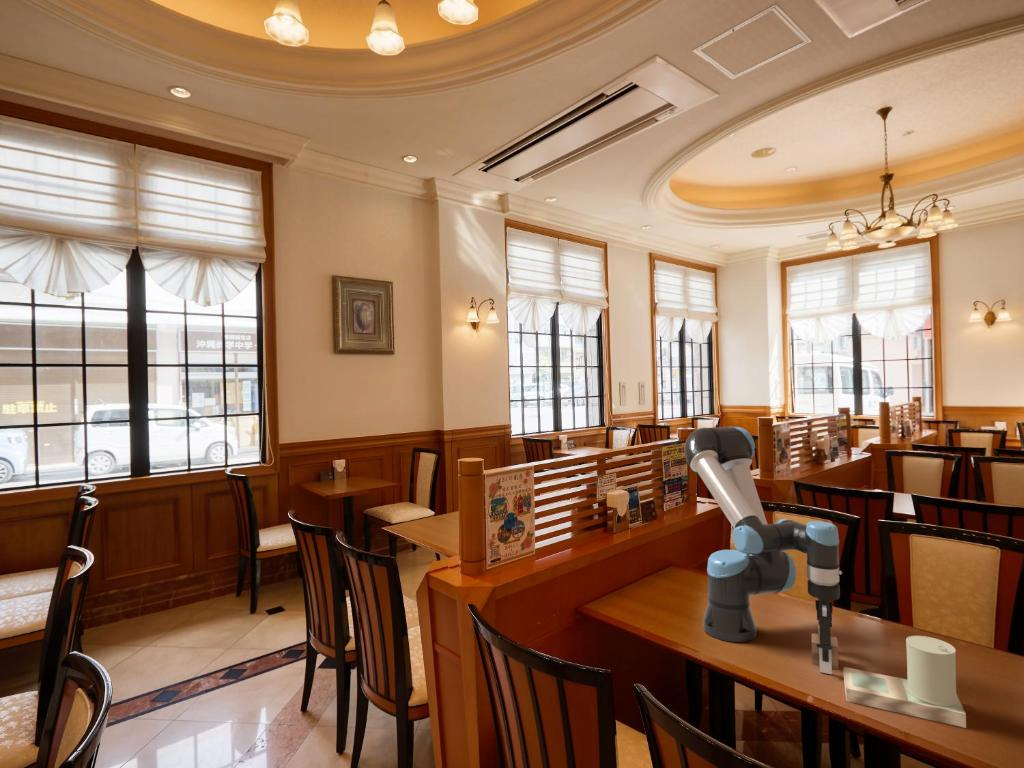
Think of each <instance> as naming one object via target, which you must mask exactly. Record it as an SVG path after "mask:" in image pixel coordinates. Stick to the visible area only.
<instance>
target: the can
mask: <svg viewBox="0 0 1024 768" xmlns="http://www.w3.org/2000/svg"><path fill="white" fill-rule="evenodd" d="M905 643H906V644H905V647H906V669H907V670H906V671H907V672H906V674H907V675H906V677H907V691H908V692H909V693H910V694H911V695H912V696H914V697H915V698H917V699H919V700H921V701H924V702H926V703H929V704H933V705H937V706H954V705H956V704H957V702H958V700H957V696H958V695H956V694H957V671H956V669H957V667H956V666H957V664H956V663H957V661H956V660H957V659H956V658H957V656H956V654H957V649H956V648H955V647H954V645H952V644H950V643H948V642H946V641H944V640H941V639H939V638H935V637H932V636H931V637H930V636H925V635H910V636H907V637H906V639H905Z"/></svg>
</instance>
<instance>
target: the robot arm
mask: <svg viewBox="0 0 1024 768" xmlns="http://www.w3.org/2000/svg"><path fill="white" fill-rule="evenodd" d="M755 449H756V443H755V441H754V438H753V436H752V434H751V433H750V431H748V430H747V429H745V428H743V427H741V426H732V425H731V426H721V427H720V426H718V427H700V428H697V429H695V430H694V431H692V432H691V433H690V434H689V435H688V437H687V438H686V440H685V443H684V457H685V460H686V462H687V465H689V467H690V469H691V470H692V471H693V472H695V473H697V475H698V476H699V477H700V478H701V480H702V481H703V483H704V485H705V486H706V487H707V489H708V491H709V492H710V494H711V495H712V497H713V498H714V500H715V502H716V503H717V504H718V506H719V508H720V509H721V511H722V512H723V514H724V515H725V517H726V518H727V520H728V521H729V523H730V524H731V526H732V528H733V531H732V536H731V537H732V541H733V545H734V548H735V549H721V550H717V551H715V552H713V553H711V554H710V556H709V557H708V558H707V568H706V572H707V589H708V590H707V591H708V592H707V595H708V597H707V598H708V601H707V605H706V609H705V612H704V615H703V619H702V629H703V631H704V632H705V633H706V632H707V633H708V636H710V637H713V638H715V639H718V640H722V641H726V642H732V643H744V642H749V641H753V640H754V639H755V638H757V625H756V622H755V620H754V616H753V613H752V611H751V608H750V596H755V595H767V594H777V593H781V592H785V591H788V590H790V589H792V587H793V586H794V584H795V581H796V580H797V568H796V562H795V561H794V559H793V558H792V556H791V555H790V554H789V553H788V552H786V551H792V550H795V551H797V552H799V553H800V552H801V553H803V554H806V558H807V559H806V578H807V579H808V580H807V593H808V595H810V597H812V598H816V599H815V610H816V620H817V621H818V626H817V627H818V634H820V644H817V647H819V661H820V666H819V673H822V674H829V675H832V674H833V671H832V670H833V669H832V657H831V649H832V647H831V637H832V636H831V633H832V632H831V628H833V623H832V622H833V615H832V614H833V612H834V611H833V610H834V609H833V602H831V601H837V600H839V599H840V598H841V592H840V591H841V589H840V588H841V587H840V584H839V582H840V576H841V575H842V574H843V571H841V570H840V539H839V530H838V527H837V525H835V523H834V524H833V523H831V522H825V521H820V520H818V521H817V520H816V521H815V520H812V521H808V522H807V523H806V524H803V523H800V522H797V521H795V520H792V519H787V518H782V519H781V518H780V519H778V520H777V521H776V522H774V523H768V521H767V519H766V516H765V512H764V509H763V506H762V502H761V500H760V497H759V494H758V491H757V490H758V489H757V488H756V485H755V481H754V478H753V475H752V472H751V469H750V466H751V465H752V463H753V457H754V455H755V453H756V450H755ZM707 633H706V634H707ZM825 643H826V644H825Z"/></svg>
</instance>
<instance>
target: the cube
mask: <svg viewBox="0 0 1024 768" xmlns="http://www.w3.org/2000/svg"><path fill="white" fill-rule="evenodd" d="M838 643H839V642H838V637H837V636H831V647H832V649H831V657H832V670H833V669H834V670H837V671H838V670H839V645H838ZM817 644H820V634H819V633H813V632H812V633H811V665H812V666H818V667H820V661H819V647H817ZM825 644H826V643H825Z"/></svg>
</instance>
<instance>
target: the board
mask: <svg viewBox="0 0 1024 768" xmlns="http://www.w3.org/2000/svg"><path fill="white" fill-rule="evenodd" d="M843 682H844V683H843V684H844V692H845V700H846V702H848V703H853V704H859V705H861V706H868V707H872V708H874V709H875V708H876V709H879V710H884V711H888V712H894V713H899V714H902V715H906V716H911V717H916V718H920V719H921V718H922V719H925V720H929V721H933V722H938V723H942V724H945V725H946V724H947V725H951V726H955V727H960V728H963V729H964V728H965V729H967V716H966V715H967V714H966V711H965V710H964V707H963V704H962V703H961V701H960V699H959V696H958V695H957V694H958V693H956V695H957V700H958V702H957V704H956V705H954V706H937V705H933V704H929V703H926V702H924V701H921V700H919V699H917V698H915V697H914V696H912V695H911V694H910V693H909V692H908V691H907V679H906V678H903V677H902V678H901V677H897V676H891V675H886V674H882V673H876V672H871V671H867V670H861V669H856V668H852V667H847V666H843Z"/></svg>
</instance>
